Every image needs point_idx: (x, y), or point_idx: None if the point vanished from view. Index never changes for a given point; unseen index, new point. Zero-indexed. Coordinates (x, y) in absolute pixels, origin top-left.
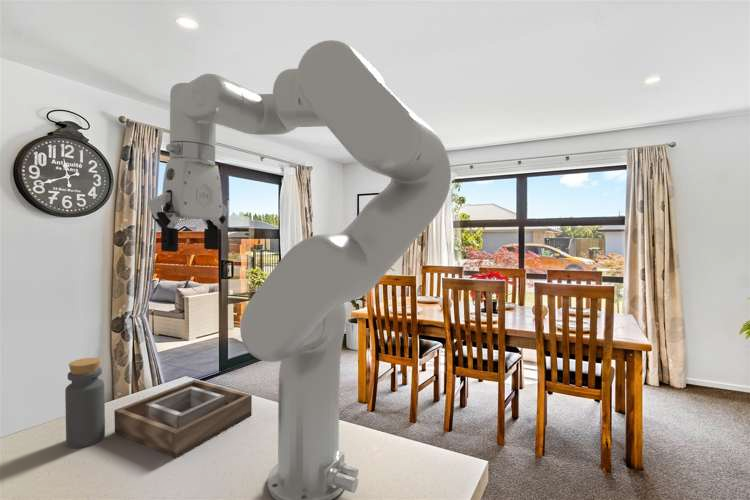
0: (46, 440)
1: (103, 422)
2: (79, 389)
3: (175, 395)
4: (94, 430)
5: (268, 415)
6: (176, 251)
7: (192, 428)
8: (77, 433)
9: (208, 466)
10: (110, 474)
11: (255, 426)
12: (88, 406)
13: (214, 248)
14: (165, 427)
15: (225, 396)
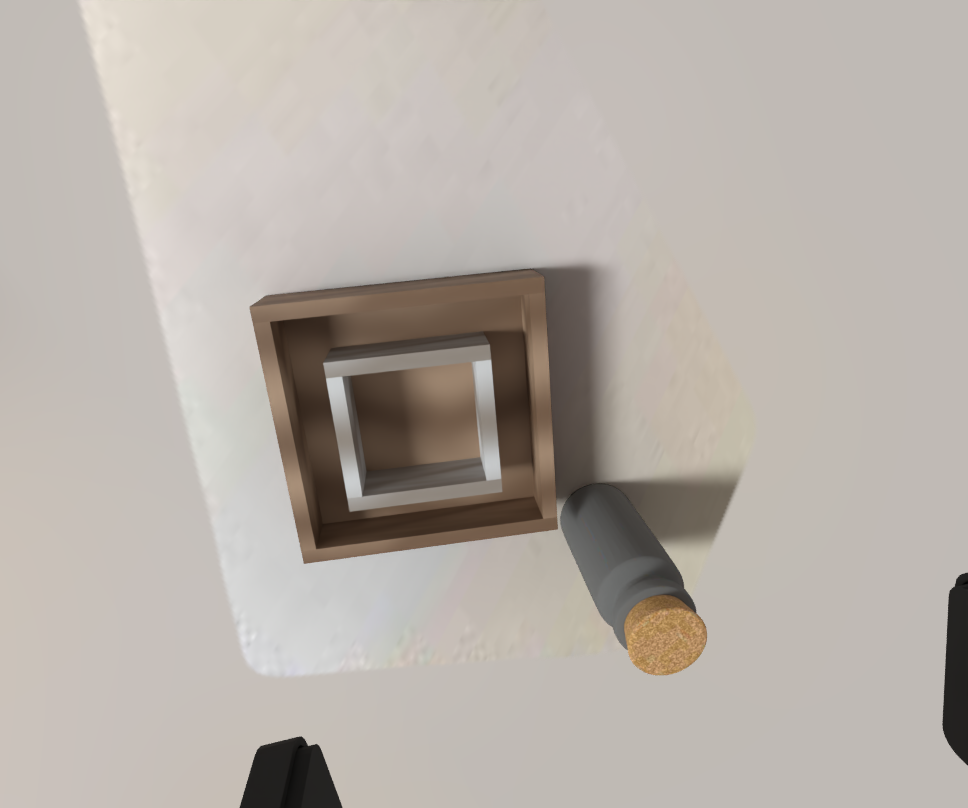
0: None
1: (581, 512)
2: (670, 568)
3: (416, 488)
4: (604, 498)
5: (227, 251)
6: (960, 576)
7: (488, 280)
8: (634, 508)
9: (506, 164)
10: (640, 330)
11: (300, 228)
12: (637, 531)
13: (322, 761)
14: (540, 328)
15: (291, 403)
